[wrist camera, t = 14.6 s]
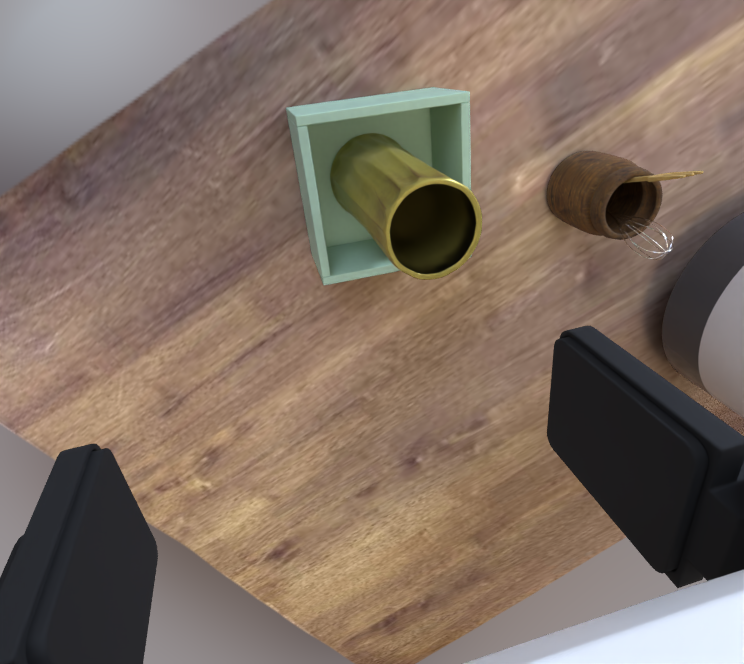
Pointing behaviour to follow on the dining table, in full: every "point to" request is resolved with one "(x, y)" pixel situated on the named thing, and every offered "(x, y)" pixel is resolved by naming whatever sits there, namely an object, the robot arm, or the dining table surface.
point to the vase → (406, 206)
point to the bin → (357, 117)
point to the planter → (711, 318)
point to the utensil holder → (608, 195)
